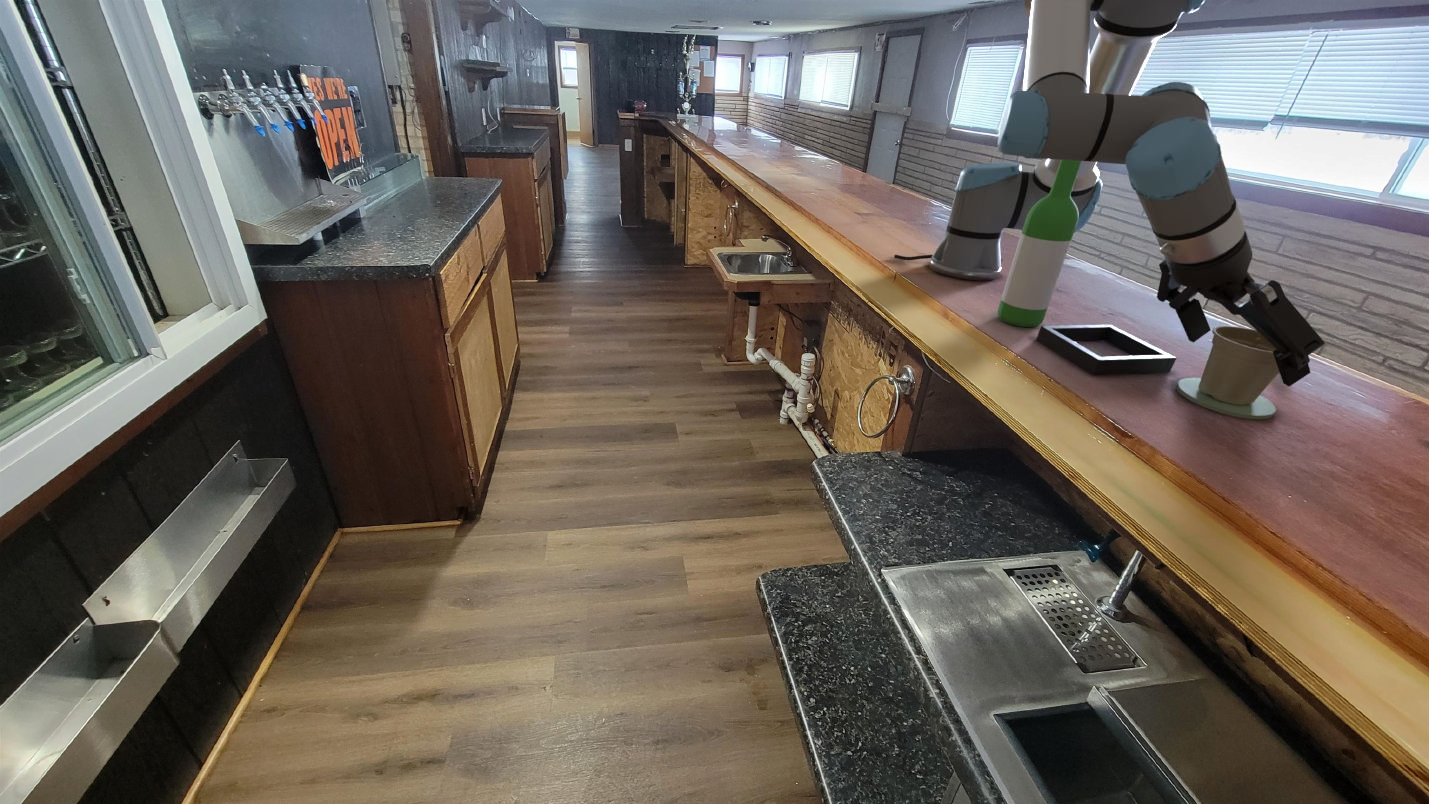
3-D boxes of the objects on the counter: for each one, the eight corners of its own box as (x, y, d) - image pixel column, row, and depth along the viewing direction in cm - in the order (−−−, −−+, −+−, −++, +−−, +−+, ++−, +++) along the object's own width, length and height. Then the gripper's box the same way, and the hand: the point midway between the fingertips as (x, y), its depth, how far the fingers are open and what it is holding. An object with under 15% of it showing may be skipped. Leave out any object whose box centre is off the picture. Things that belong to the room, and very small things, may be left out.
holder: (1093, 375, 85) (1099, 360, 83) (1036, 339, 96) (1040, 325, 95) (1169, 372, 87) (1177, 357, 85) (1105, 337, 98) (1110, 324, 97)
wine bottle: (994, 323, 102) (1050, 142, 87) (996, 310, 108) (1048, 139, 93) (1042, 332, 99) (1108, 146, 84) (1041, 318, 105) (1102, 143, 90)
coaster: (1174, 400, 79) (1176, 396, 78) (1177, 374, 86) (1179, 370, 86) (1276, 428, 73) (1279, 424, 73) (1271, 397, 81) (1273, 394, 80)
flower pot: (1236, 382, 83) (1267, 328, 79) (1286, 415, 75) (1324, 356, 71) (1170, 377, 84) (1197, 323, 79) (1212, 409, 76) (1245, 350, 71)
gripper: (1096, 239, 78) (1145, 337, 88) (1279, 301, 57) (1315, 421, 66) (1146, 200, 76) (1189, 304, 86) (1353, 248, 55) (1380, 379, 65)
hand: (1244, 355), depth 76 cm, fingers open, 13 cm apart
